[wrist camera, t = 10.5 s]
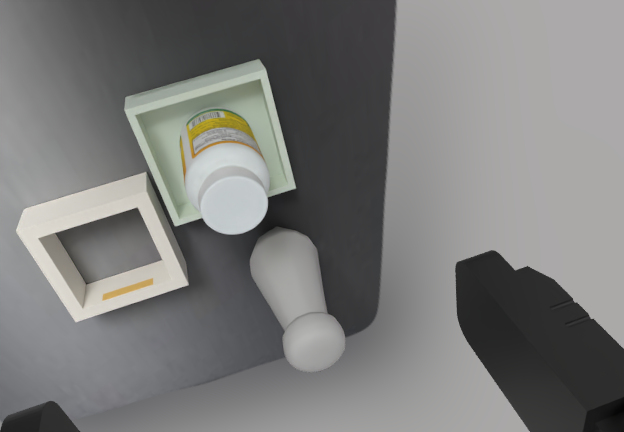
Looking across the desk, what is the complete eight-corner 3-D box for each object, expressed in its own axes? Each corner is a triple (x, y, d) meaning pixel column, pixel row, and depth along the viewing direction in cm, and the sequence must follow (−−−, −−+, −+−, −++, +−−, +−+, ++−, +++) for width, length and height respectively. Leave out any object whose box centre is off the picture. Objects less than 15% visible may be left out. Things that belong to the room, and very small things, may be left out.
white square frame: (24, 208, 38) (15, 231, 36) (146, 171, 39) (146, 191, 37) (79, 297, 43) (75, 322, 41) (186, 262, 44) (188, 285, 42)
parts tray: (125, 97, 36) (124, 110, 34) (259, 58, 37) (265, 69, 35) (173, 209, 41) (174, 226, 39) (288, 173, 42) (296, 188, 40)
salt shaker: (232, 241, 44) (260, 355, 34) (289, 205, 44) (336, 308, 33) (268, 283, 48) (303, 398, 37) (321, 249, 47) (373, 356, 37)
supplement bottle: (199, 91, 36) (216, 149, 28) (265, 124, 39) (297, 186, 31) (165, 155, 38) (171, 226, 30) (230, 183, 41) (252, 255, 33)
